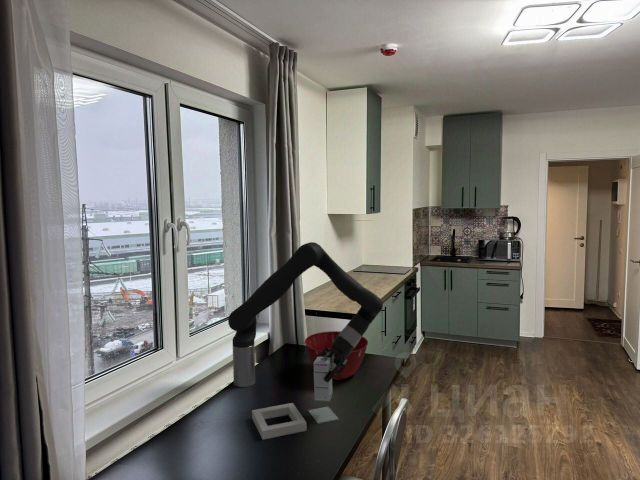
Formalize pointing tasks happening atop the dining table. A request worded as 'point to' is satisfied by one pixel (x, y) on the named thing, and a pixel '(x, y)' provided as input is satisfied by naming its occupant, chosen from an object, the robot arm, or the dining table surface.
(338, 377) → the mixing bowl
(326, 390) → the syrup box
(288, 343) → the dining table surface
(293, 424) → the hollow square frame
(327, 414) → the rubber mat
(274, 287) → the robot arm
